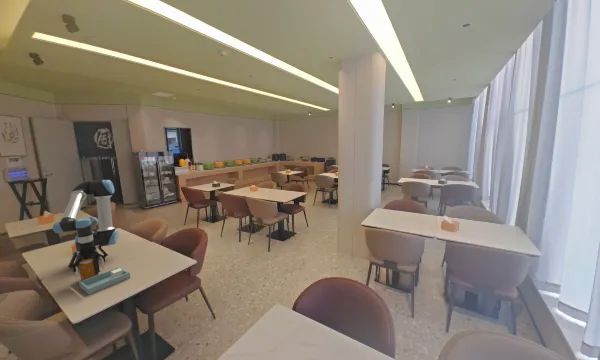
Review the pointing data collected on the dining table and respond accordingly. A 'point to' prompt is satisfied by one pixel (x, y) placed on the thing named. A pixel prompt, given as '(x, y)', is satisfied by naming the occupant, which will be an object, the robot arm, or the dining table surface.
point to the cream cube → (116, 273)
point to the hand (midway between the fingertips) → (90, 271)
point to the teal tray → (102, 281)
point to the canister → (89, 266)
